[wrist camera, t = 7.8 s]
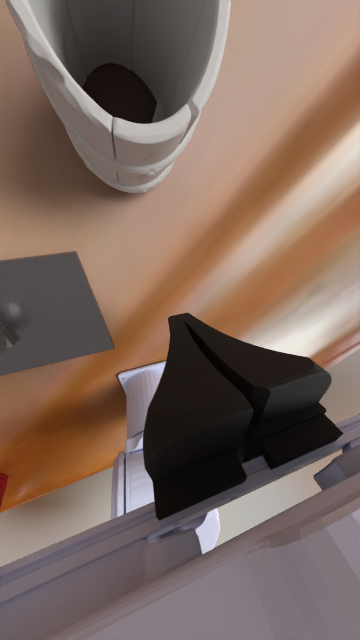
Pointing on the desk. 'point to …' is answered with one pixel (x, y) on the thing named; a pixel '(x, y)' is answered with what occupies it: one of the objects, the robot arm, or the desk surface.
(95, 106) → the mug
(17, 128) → the desk surface
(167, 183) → the desk surface
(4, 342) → the tube
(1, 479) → the plastic cup
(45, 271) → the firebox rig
